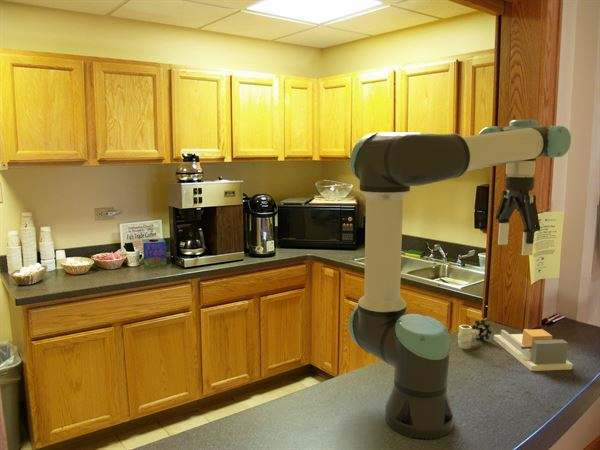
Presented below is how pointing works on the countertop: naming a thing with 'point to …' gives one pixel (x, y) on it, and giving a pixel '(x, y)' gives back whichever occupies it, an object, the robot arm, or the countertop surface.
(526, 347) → the orange block
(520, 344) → the cream and grey fixture
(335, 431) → the countertop surface
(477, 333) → the valve
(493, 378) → the countertop surface
